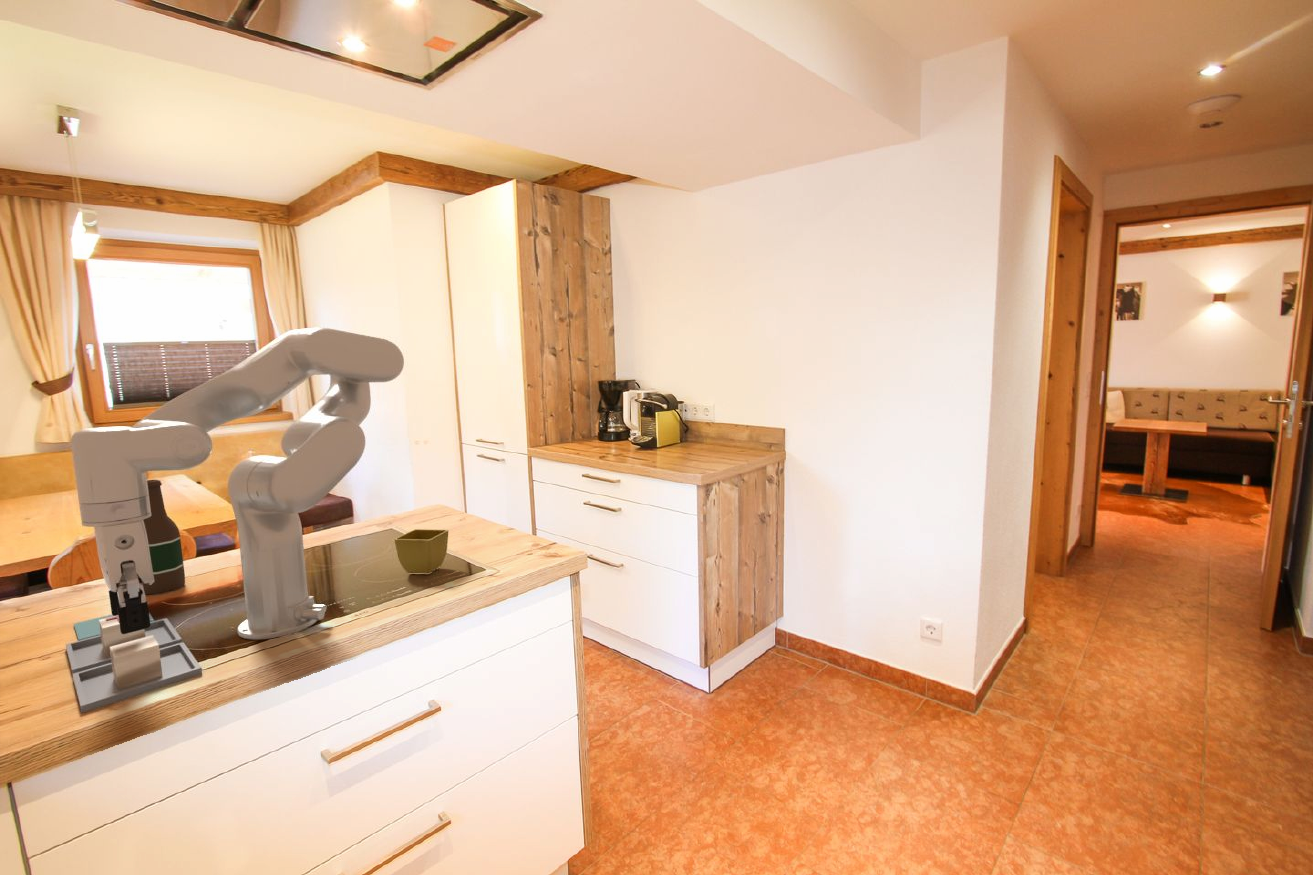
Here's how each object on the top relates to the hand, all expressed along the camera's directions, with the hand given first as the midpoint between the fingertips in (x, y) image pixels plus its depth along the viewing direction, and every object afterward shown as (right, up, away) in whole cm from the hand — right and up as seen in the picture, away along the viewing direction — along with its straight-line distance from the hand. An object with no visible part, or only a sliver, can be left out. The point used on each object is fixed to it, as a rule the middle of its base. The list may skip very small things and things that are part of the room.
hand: (130, 621), depth 87 cm
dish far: (-11, -8, +11) cm, 18 cm away
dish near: (0, -9, +1) cm, 9 cm away
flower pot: (+26, -4, +47) cm, 53 cm away
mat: (-22, -7, +20) cm, 30 cm away
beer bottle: (-28, -6, +39) cm, 48 cm away
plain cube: (0, -9, +1) cm, 9 cm away
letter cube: (-11, -8, +11) cm, 17 cm away
